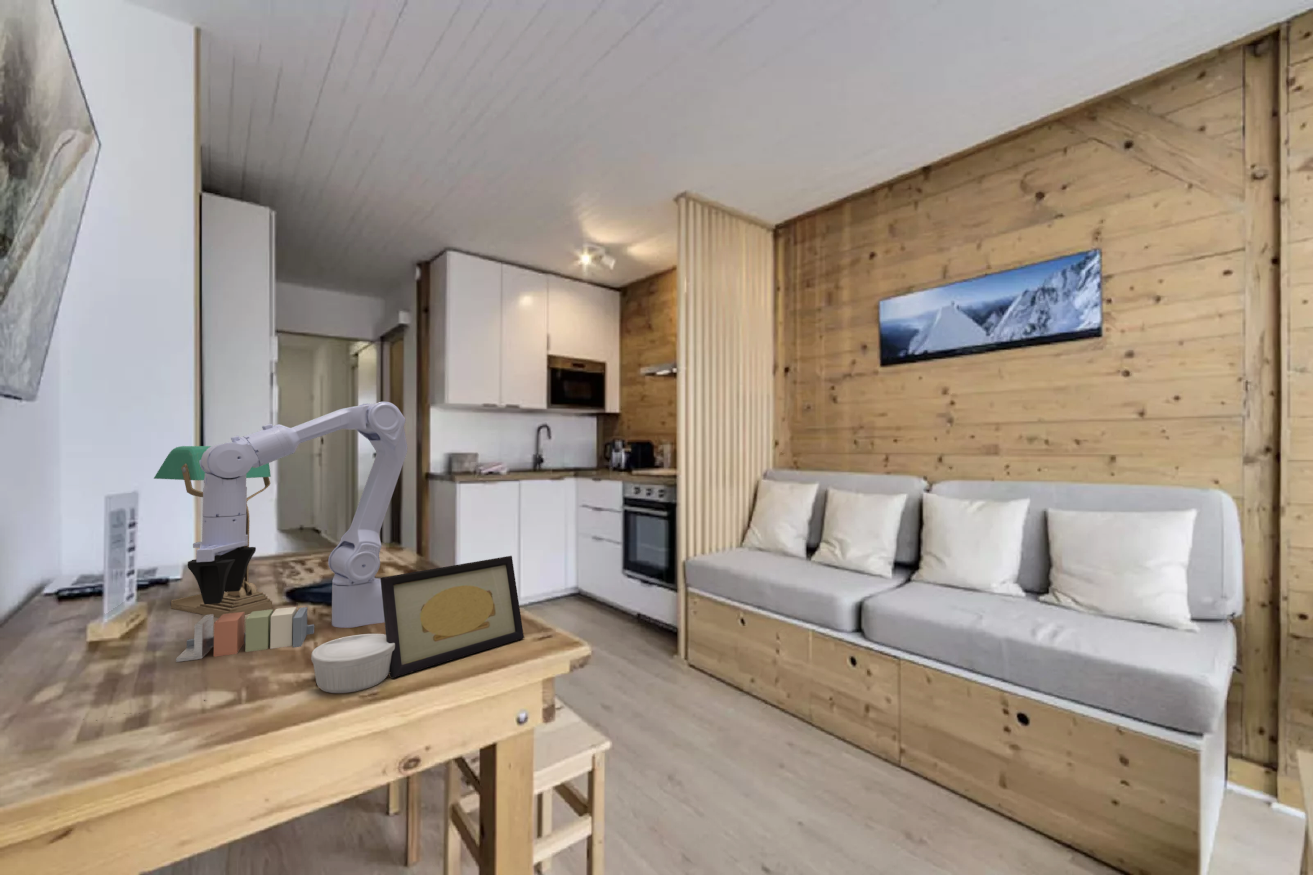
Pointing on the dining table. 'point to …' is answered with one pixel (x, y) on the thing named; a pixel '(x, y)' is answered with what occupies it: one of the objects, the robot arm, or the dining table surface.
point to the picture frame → (450, 612)
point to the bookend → (199, 640)
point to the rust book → (229, 634)
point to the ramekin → (352, 662)
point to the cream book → (282, 627)
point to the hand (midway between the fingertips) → (223, 597)
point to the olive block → (258, 630)
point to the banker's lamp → (248, 599)
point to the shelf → (298, 629)
